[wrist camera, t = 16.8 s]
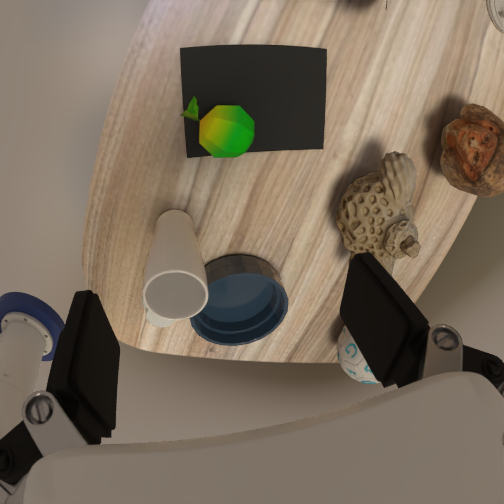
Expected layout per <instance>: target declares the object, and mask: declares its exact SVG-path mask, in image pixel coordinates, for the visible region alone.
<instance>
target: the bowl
mask: <svg viewBox="0 0 504 504" xmlns="http://www.w3.org/2000/svg"><path fill="white" fill-rule="evenodd" d="M205 270H206V275H207V283H208V301H207V303H206V305H205V307H204V308H203V309H202V310H201V311H200V312H199V313H198V314H196V315H195V316H193V317H190V321H191V325H192V327H193V328H194V330H195V331H196V332H197V334H198V335H199V336H201V337H202V338H204V339H205V340H207V341H209V342H212V343H215V344H219V345H227V346H237V345H243V344H249V343H252V342H254V341H257V340H260V339H262V338H264V337H265V336H267V335H268V334H270V333H271V332H273V331H274V330H275V329H276V328H277V327H278V326H279V325H280V324H281V322H282V321H283V319H284V317H285V315H286V313H287V311H288V297H287V294H286V292H285V289H284V287H283V285H282V282H281V280H280V278H279V276H278V274H277V272H276V271H275V270H274V269H273V268H272V267H271V265H270V264H269V263H267V262H265V261H263V260H261V259H259V258H257V257H251V256H244V255H236V256H229V257H224V258H221V259H219V260H216V261H214V262H211V263H209V264H208V265H207V266H205Z"/></svg>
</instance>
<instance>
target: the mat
mask: <svg viewBox="0 0 504 504" xmlns="http://www.w3.org/2000/svg"><path fill="white" fill-rule="evenodd" d="M180 55H181V77H182V94H183V109H184V111H185V110H187V108H188V106H189V104H190V102H191V100H192V99H193V97H194V96H195V98H196V100H197V101H198V119H199V120H201V119H203V118H204V117H205V116H206V115H207V114H208V113H209V112H210V111H211V110H212V109H213V108H214V107H216V106H217V105H229V106H240V107H241V108H242V109H243V110H244V111H245V112H246V113H247V114H248V115H249V116H250V117H251V118H252V119H253V121H254V138H253V143H252V144H251V145H250V147H249V148H248V149H247V151H246V152H245V153H247V152H262V151H280V150H307V149H323V143H324V125H325V103H326V67H327V49H321V48H311V47H299V46H283V45H216V46H200V47H188V48H180ZM184 123H185V136H186V148H187V158H193V157H202V156H212V155H211V154H210V153H209V152H208V151H207V150H206V149H205V148H204V147H203V146H202V145H201V144H200V143H199V129H200V122H199V121H196V120H193V119H190V118H187V117H184Z"/></svg>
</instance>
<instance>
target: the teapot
mask: <svg viewBox="0 0 504 504" xmlns="http://www.w3.org/2000/svg"><path fill="white" fill-rule="evenodd" d="M415 182H416V169H415V166H414V164H413V162H412V161H411V160H410V159H409V158H408V157H407V155H406V154H402V153H398V152H395V151H394V152H391V153H387V154H386V155H385V157H384V158H383V159H382V160H381V165H380V170H379V171H377V172H371V173H368V174H367V176H363V177H359V178H357V179H354V181H353V184H352V183H351V184H350V185H349V186H348V188H347V190H346V192H345V194H344V196H343V197H342V199H341V202H340V205H339V208H338V211H337V213H336V224H337V225H338V227H339V230H340V233H341V237H342V241H343V245H344V246H345V247H346V248H347V249H348V250H350V253H351V256H350V258H349V264H350V260H351V259H352V258H354V255H355V254H358V253H364V252H370V253H372V254H373V256H374V257H375V258H376V259H377V260H378V261H379V262H380V264H381V265H382V266H383V267H384V268H385V269H386V270H387V272H388V273H389V274H390V275H391V276H392V270H393V266H394V262H395V260H396V258H403V257H405V256H406V254H407V255H408V256H410V257H411V258H415V257H417V256H418V253H419V250H420V247H421V246H420V244H419V242H417V241H418V231H417V227H416V226H415V224H414V223H413V219H412V218H413V215H414V214H413V207H412V199H413V192H414V190H415Z"/></svg>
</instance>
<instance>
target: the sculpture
mask: <svg viewBox="0 0 504 504" xmlns="http://www.w3.org/2000/svg"><path fill="white" fill-rule="evenodd" d="M460 116H461V120H459V119H455V120H454V121H452V122H450V123H449V124H447V125H446V126H445V127H444V128H443V131H442V136H441V146H442V149H443V153H442V156H441V161H440V163H441V168H442V171H443V173H444V176H445V177H446V179H447V180H448V182H449V183H450V185H452V186H453V187H455V188H457V189H459V190H462V191H465V192H468V193H471V194H474V195H478V196H481V197H494V196H497V195H499V194H501V193H502V192H504V122H503V121H502V120H501V119H500V118H499V117H498V116H496V115H495V114H494V113H492V112H491V111H490V110H488V109H487V108H485V107H483V106H480V105H476V104H469V105H466V106H464V107H463V108H462V110H461V112H460Z"/></svg>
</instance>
